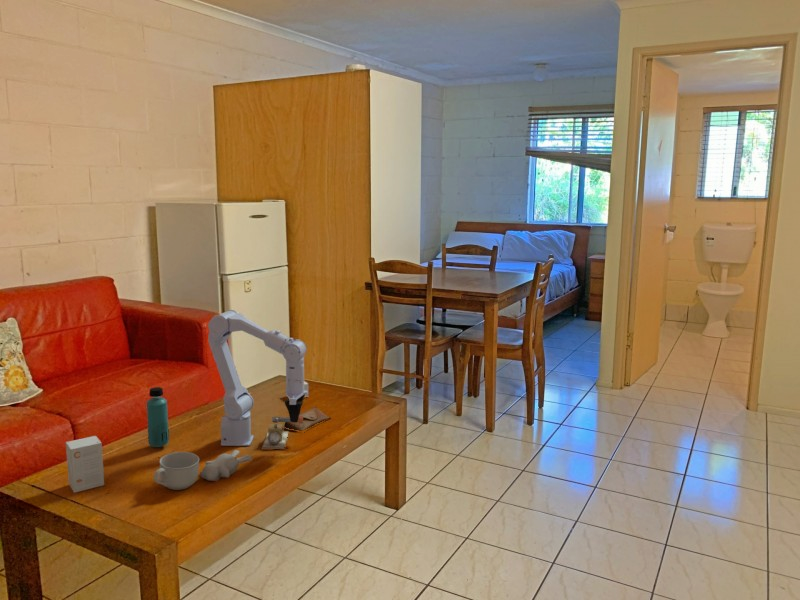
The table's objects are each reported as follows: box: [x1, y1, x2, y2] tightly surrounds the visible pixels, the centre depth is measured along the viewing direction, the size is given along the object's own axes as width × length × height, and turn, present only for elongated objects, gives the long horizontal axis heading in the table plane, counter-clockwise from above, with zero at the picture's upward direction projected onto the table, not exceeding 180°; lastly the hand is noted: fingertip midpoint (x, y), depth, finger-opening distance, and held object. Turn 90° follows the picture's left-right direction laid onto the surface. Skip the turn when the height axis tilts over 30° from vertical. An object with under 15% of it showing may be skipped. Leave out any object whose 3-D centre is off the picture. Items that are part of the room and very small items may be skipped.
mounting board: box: [261, 430, 290, 450], centre depth 213 cm, size 13×7×1 cm, turn 3°
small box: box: [65, 435, 105, 494], centre depth 179 cm, size 8×6×13 cm
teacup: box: [153, 451, 200, 491], centre depth 180 cm, size 14×11×8 cm
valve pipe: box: [267, 423, 284, 446], centre depth 213 cm, size 11×4×6 cm, turn 3°
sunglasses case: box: [283, 406, 329, 431], centre depth 230 cm, size 18×7×7 cm, turn 151°
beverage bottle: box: [145, 386, 170, 448], centre depth 204 cm, size 6×7×20 cm
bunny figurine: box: [199, 449, 253, 482], centre depth 190 cm, size 10×5×15 cm
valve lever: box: [271, 416, 303, 424], centre depth 212 cm, size 10×2×2 cm, turn 93°
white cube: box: [304, 380, 310, 397], centre depth 257 cm, size 6×6×6 cm
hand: (295, 418), depth 207 cm, fingers open, 5 cm apart
